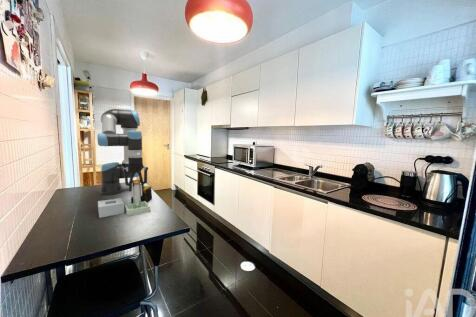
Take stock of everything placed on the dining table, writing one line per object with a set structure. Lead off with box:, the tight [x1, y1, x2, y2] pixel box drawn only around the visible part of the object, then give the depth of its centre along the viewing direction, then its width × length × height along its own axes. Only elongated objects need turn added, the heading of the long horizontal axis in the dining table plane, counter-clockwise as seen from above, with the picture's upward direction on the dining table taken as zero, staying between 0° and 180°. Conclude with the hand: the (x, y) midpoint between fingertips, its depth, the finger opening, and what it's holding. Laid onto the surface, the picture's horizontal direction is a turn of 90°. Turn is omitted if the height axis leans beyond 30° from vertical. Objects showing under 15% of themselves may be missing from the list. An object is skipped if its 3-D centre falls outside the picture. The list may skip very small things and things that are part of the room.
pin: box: [132, 179, 141, 209], centre depth 121 cm, size 5×5×17 cm
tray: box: [124, 201, 151, 217], centre depth 122 cm, size 12×12×3 cm
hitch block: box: [97, 197, 125, 219], centre depth 118 cm, size 12×12×6 cm
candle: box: [130, 185, 153, 204], centre depth 138 cm, size 10×10×10 cm
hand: (136, 195), depth 121 cm, fingers closed on pin, 4 cm apart
